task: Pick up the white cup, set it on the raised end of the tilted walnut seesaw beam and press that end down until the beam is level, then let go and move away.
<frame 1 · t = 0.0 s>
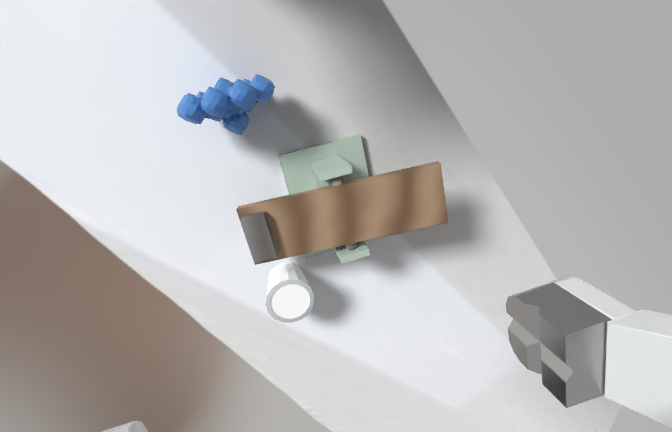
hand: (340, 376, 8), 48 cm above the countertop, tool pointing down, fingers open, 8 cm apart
grapes: (232, 104, 51), on the countertop
pivot stand: (331, 196, 58), on the countertop
seesaw beam: (343, 215, 49), point 9 cm above the countertop, hinge at -10.0°
white cup: (286, 278, 61), on the countertop
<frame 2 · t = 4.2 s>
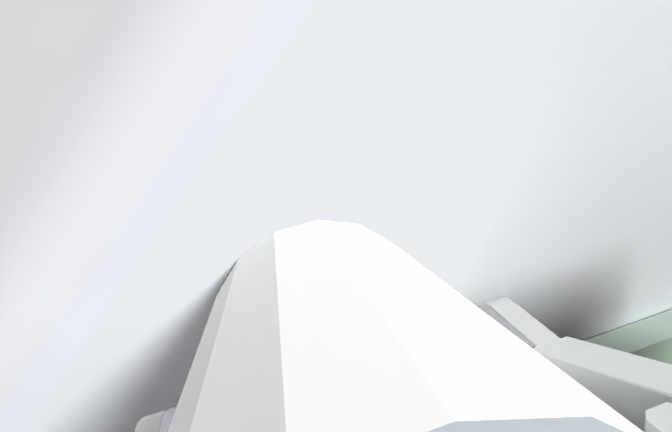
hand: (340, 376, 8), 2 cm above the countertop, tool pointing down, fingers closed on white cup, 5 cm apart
white cup: (319, 313, 11), on the countertop, touching gripper
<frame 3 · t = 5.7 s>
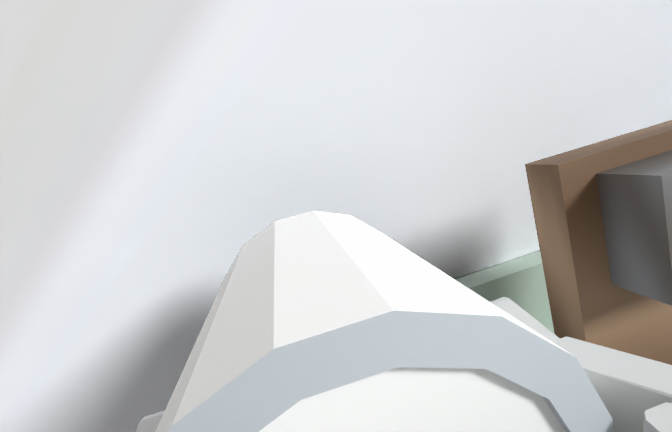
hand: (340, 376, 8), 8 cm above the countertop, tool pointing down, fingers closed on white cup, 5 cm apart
pivot stand: (530, 352, 21), on the countertop
white cup: (316, 297, 12), point 4 cm above the countertop, touching gripper
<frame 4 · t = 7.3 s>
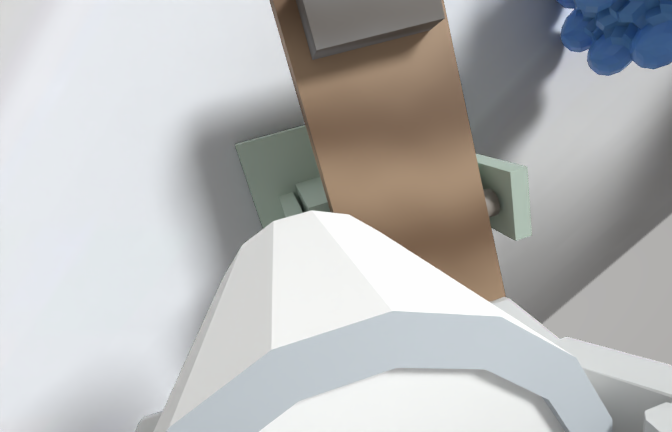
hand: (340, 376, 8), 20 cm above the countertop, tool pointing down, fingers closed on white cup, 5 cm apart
pivot stand: (367, 193, 29), on the countertop
seesaw beam: (417, 231, 20), point 9 cm above the countertop, hinge at -10.0°
white cup: (315, 297, 12), point 16 cm above the countertop, touching gripper
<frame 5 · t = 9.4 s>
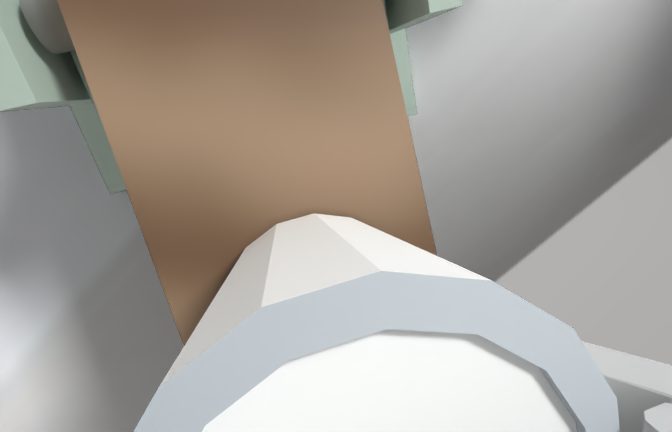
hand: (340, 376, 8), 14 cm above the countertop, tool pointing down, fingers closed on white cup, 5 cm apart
pivot stand: (235, 27, 18), on the countertop
white cup: (319, 302, 12), point 11 cm above the countertop, touching gripper, seesaw beam
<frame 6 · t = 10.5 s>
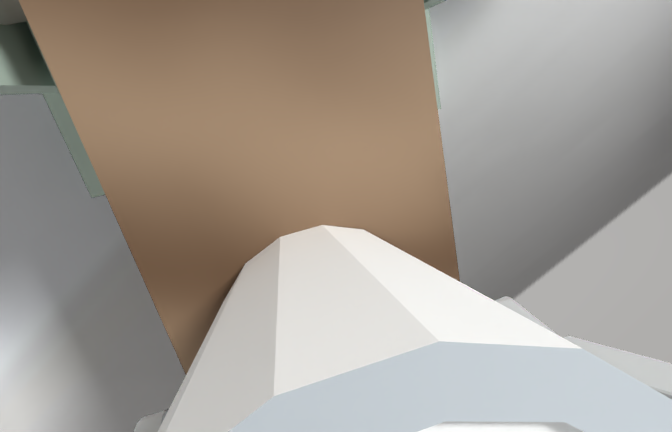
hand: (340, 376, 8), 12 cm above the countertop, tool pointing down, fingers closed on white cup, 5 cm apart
pivot stand: (235, 7, 16), on the countertop
white cup: (326, 322, 11), point 9 cm above the countertop, touching gripper, seesaw beam
when the fingers open (12 cm above the countertop, at t = 11.2 s): white cup stays where it is, resting on seesaw beam.
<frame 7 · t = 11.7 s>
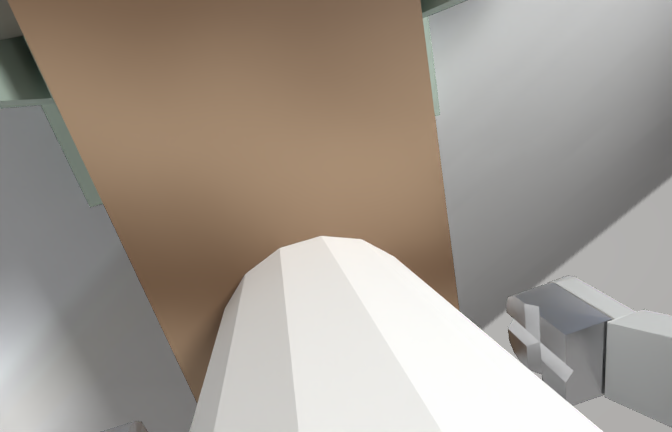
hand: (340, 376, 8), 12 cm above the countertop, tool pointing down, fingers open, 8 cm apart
pivot stand: (233, 15, 16), on the countertop
white cup: (323, 324, 11), point 9 cm above the countertop, touching seesaw beam
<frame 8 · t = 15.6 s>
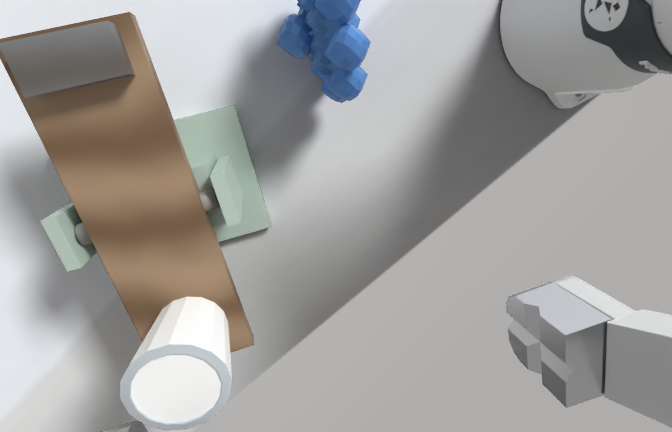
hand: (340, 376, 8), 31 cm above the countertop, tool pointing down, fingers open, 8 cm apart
grapes: (307, 39, 35), on the countertop
pivot stand: (171, 189, 36), on the countertop
seesaw beam: (147, 220, 28), point 9 cm above the countertop, hinge at 0.4°, touching white cup
white cup: (192, 325, 31), point 9 cm above the countertop, touching seesaw beam
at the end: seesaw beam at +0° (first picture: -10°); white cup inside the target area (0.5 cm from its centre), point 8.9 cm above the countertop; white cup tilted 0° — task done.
